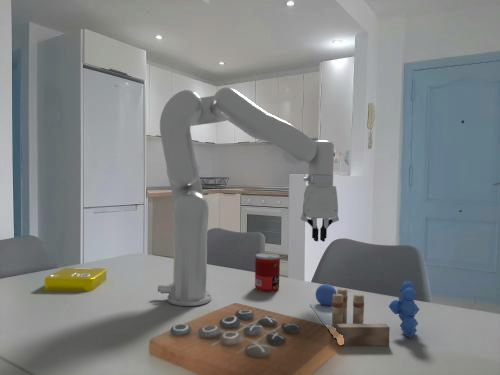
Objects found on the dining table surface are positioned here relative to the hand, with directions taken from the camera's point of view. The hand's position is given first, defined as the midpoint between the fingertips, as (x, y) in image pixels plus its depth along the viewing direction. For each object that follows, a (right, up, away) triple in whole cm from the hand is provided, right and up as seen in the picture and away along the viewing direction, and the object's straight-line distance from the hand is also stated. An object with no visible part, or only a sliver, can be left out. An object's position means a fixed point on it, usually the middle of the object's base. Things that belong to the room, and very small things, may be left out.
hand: (319, 240), depth 118 cm
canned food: (-16, -17, +7) cm, 24 cm away
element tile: (-78, -16, +6) cm, 80 cm away
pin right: (+4, -18, -28) cm, 33 cm away
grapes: (+15, -18, -28) cm, 37 cm away
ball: (0, -14, -9) cm, 17 cm away
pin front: (+1, -17, -24) cm, 29 cm away
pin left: (-1, -17, -28) cm, 33 cm away
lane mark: (+1, -17, -21) cm, 27 cm away
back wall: (+3, -18, -35) cm, 39 cm away
